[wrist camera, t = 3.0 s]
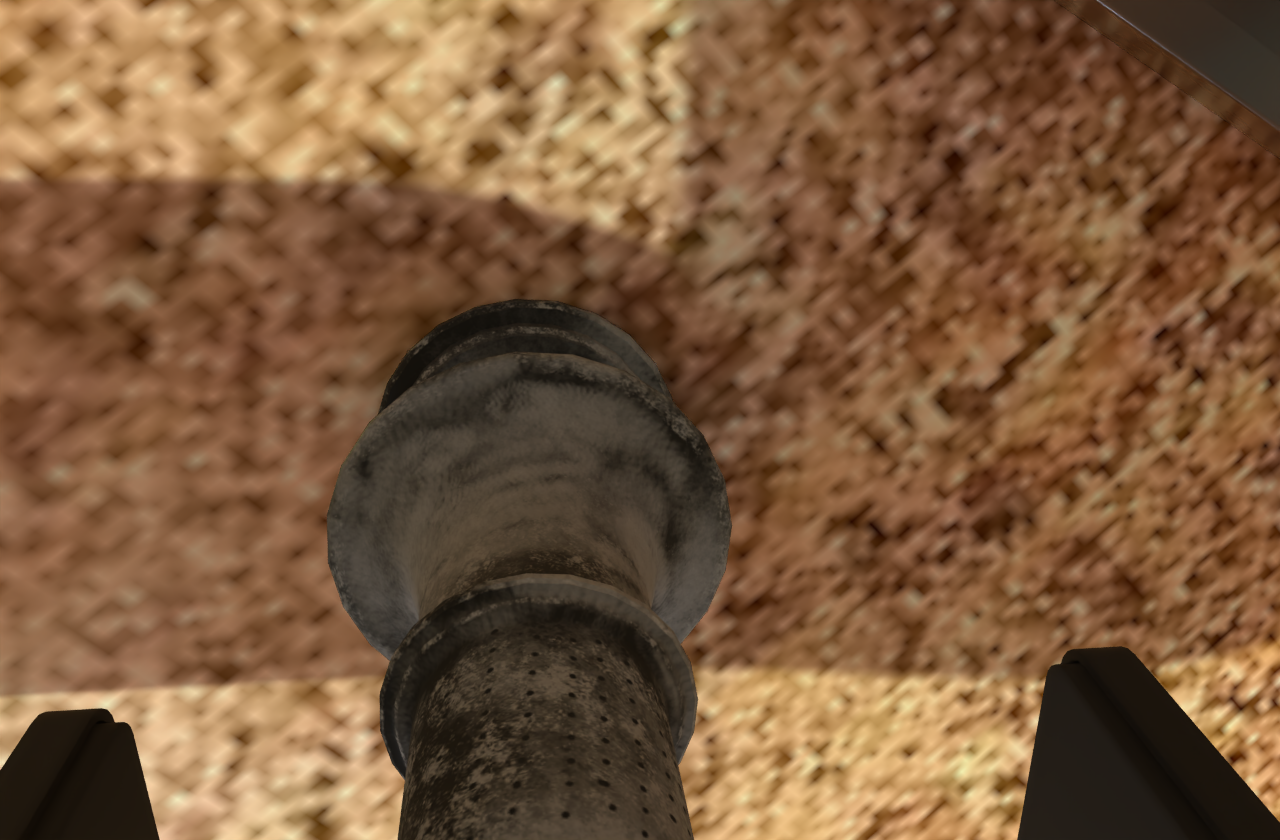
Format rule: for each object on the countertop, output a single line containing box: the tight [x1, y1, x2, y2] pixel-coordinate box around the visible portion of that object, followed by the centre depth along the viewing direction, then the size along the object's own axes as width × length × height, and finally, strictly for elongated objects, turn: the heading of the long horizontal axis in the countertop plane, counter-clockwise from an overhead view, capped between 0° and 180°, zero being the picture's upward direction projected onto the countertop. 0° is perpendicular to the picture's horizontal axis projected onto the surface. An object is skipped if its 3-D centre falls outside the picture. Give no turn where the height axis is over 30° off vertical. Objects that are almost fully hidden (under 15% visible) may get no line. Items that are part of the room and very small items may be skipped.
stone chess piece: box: [327, 299, 732, 840], centre depth 13 cm, size 6×6×12 cm
